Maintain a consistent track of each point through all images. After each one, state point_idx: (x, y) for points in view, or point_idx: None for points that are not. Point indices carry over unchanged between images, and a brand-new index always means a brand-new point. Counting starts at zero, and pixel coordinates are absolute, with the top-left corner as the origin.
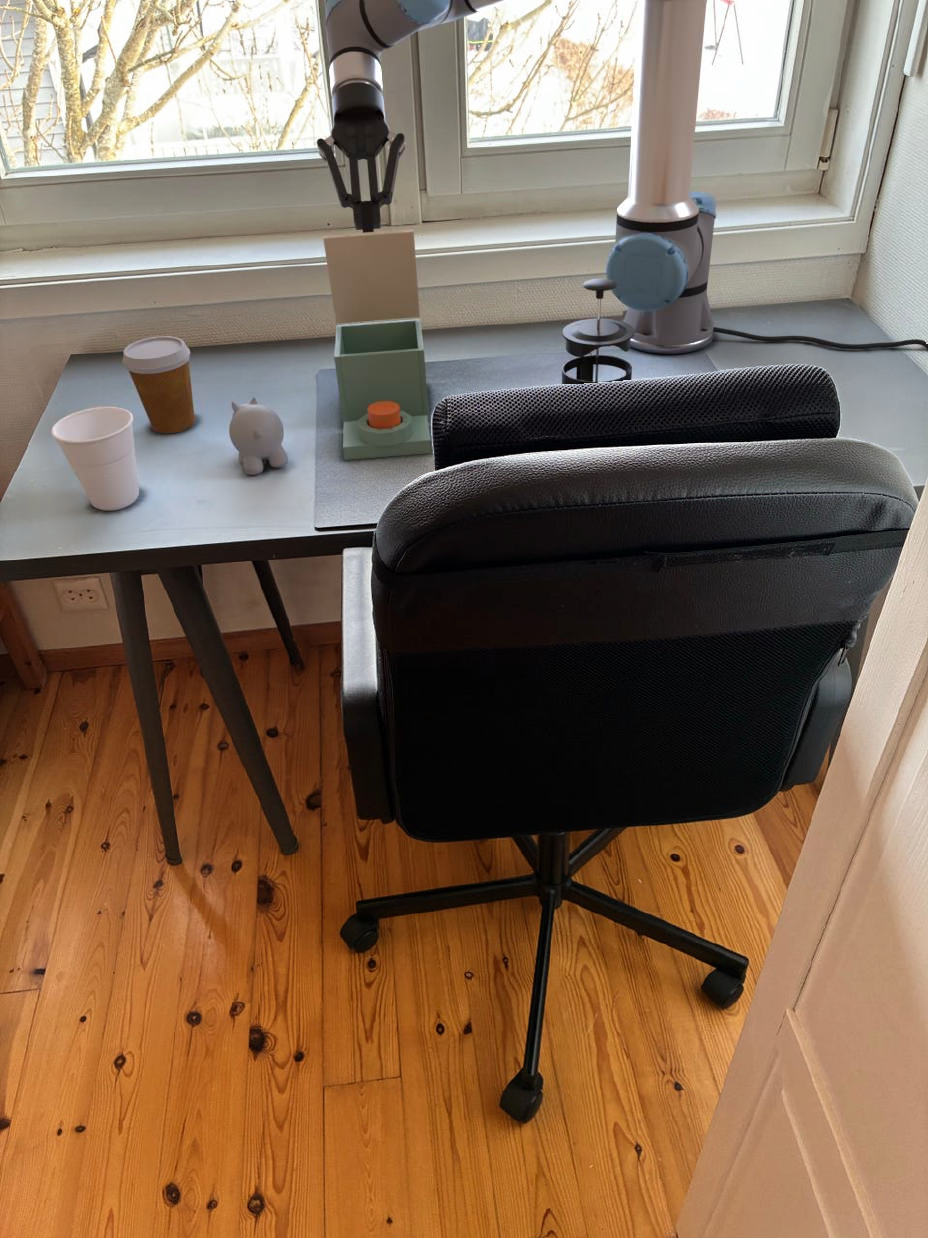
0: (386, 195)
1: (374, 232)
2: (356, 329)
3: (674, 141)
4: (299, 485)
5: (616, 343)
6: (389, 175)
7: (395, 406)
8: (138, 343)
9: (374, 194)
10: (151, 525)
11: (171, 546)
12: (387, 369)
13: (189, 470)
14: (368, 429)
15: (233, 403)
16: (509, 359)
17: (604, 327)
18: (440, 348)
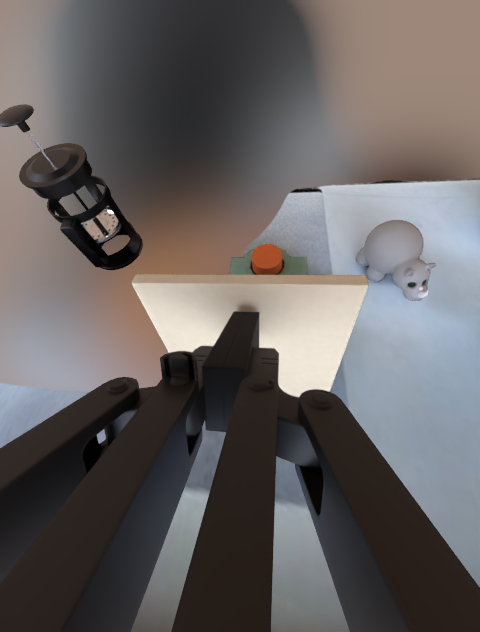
0: (130, 379)
1: (227, 281)
2: None
3: None
4: (340, 236)
5: (56, 145)
6: (37, 440)
7: (255, 256)
8: None
9: (178, 356)
10: (447, 202)
11: (419, 182)
12: None
13: (451, 269)
14: (282, 252)
15: (433, 263)
16: None
17: (44, 162)
18: (164, 548)
